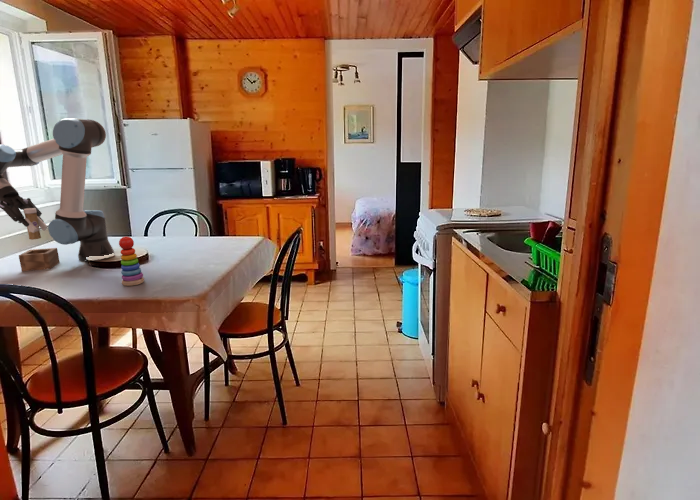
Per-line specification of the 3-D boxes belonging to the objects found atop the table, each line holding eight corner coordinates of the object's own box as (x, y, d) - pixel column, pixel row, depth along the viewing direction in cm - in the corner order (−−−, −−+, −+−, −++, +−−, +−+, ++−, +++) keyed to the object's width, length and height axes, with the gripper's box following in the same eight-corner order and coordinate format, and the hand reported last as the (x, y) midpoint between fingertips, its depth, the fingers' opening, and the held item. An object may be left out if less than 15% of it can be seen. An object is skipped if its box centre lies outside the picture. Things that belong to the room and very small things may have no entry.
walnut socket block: (59, 262, 204) (57, 247, 202) (50, 268, 193) (47, 253, 192) (32, 264, 201) (29, 249, 199) (21, 271, 191) (18, 255, 189)
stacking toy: (126, 280, 175) (120, 234, 170) (147, 279, 176) (141, 233, 171) (118, 287, 167) (111, 239, 163) (140, 286, 168) (133, 238, 163)
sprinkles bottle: (34, 240, 191) (28, 209, 188) (26, 239, 193) (20, 209, 190) (44, 237, 196) (38, 207, 192) (36, 237, 197) (30, 207, 194)
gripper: (19, 194, 202) (54, 231, 202) (-20, 199, 186) (17, 239, 185) (26, 183, 199) (61, 220, 199) (-14, 187, 183) (24, 227, 183)
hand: (40, 229), depth 192 cm, fingers closed on sprinkles bottle, 4 cm apart
